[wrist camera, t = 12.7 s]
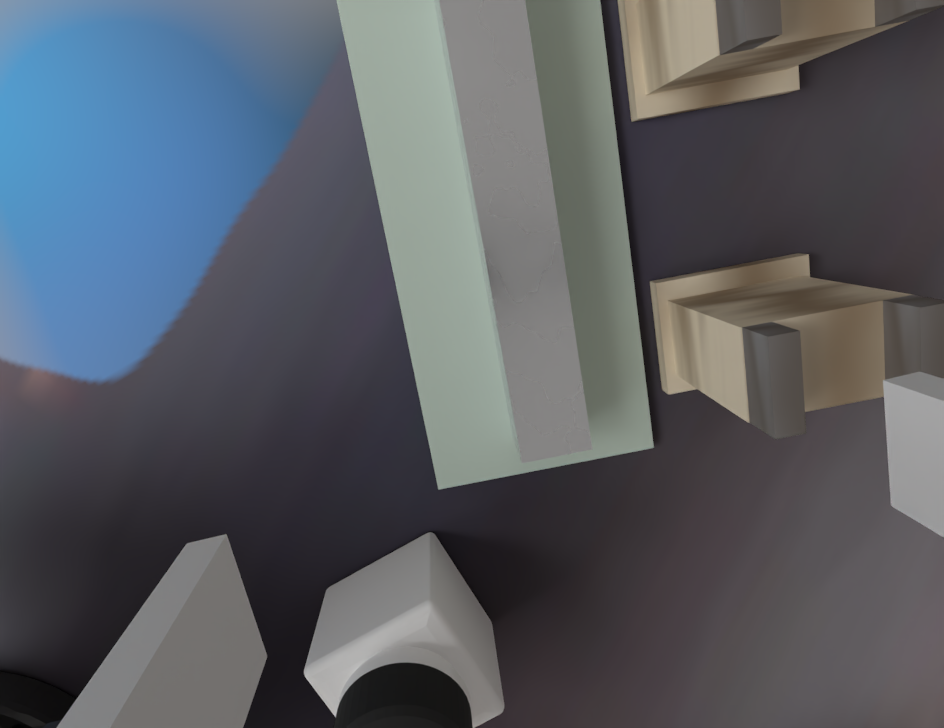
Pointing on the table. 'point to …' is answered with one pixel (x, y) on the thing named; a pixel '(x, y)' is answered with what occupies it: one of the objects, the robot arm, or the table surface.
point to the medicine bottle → (406, 645)
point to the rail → (515, 221)
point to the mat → (455, 243)
